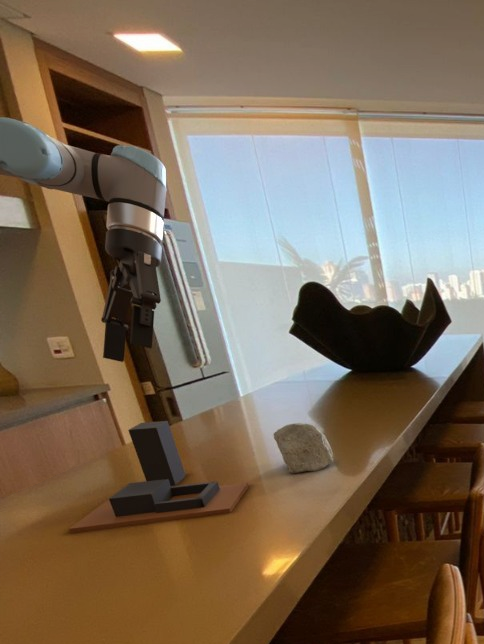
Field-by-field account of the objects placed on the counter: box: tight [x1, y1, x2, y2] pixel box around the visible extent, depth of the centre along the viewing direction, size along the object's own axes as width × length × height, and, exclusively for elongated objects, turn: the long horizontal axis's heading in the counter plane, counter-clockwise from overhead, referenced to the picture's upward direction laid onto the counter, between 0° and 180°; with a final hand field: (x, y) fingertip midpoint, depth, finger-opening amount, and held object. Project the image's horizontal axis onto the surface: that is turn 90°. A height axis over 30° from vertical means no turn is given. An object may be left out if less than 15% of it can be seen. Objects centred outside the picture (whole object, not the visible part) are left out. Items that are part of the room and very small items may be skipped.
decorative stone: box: [272, 422, 334, 474], centre depth 112 cm, size 13×11×10 cm
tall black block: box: [128, 420, 187, 487], centre depth 103 cm, size 4×6×11 cm, turn 23°
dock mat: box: [68, 479, 250, 534], centre depth 92 cm, size 20×14×4 cm
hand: (126, 353), depth 100 cm, fingers open, 13 cm apart
